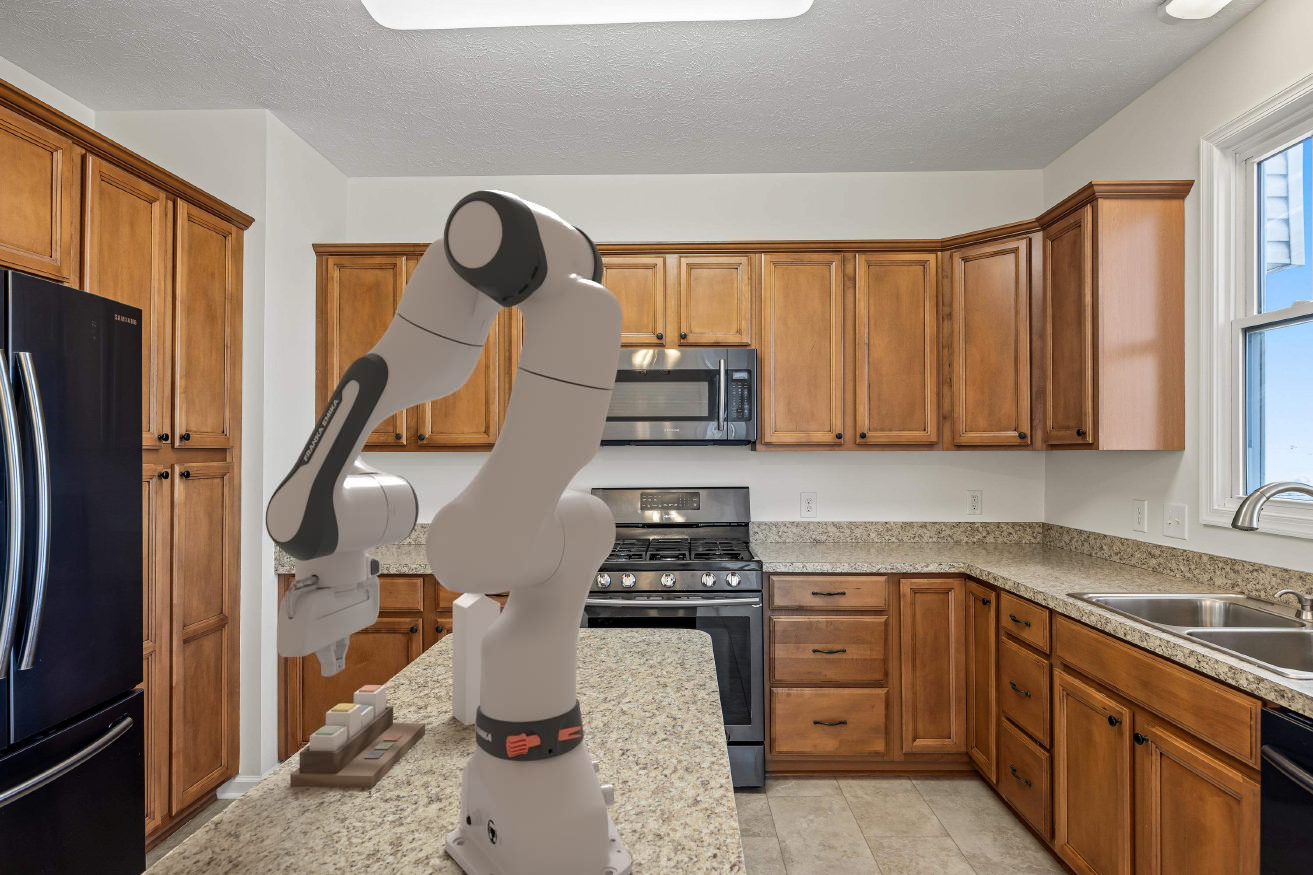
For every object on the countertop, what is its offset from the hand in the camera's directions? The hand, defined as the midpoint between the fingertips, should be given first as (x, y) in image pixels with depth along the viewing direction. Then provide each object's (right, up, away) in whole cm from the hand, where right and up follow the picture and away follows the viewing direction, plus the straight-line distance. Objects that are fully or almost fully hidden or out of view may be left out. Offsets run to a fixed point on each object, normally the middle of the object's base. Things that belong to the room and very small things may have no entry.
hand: (333, 673), depth 94 cm
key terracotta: (0, -10, +12) cm, 16 cm away
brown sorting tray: (+2, -14, +6) cm, 15 cm away
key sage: (-1, -12, 0) cm, 12 cm away
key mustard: (0, -10, +4) cm, 11 cm away
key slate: (0, -12, +8) cm, 14 cm away
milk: (+14, -15, +21) cm, 29 cm away
